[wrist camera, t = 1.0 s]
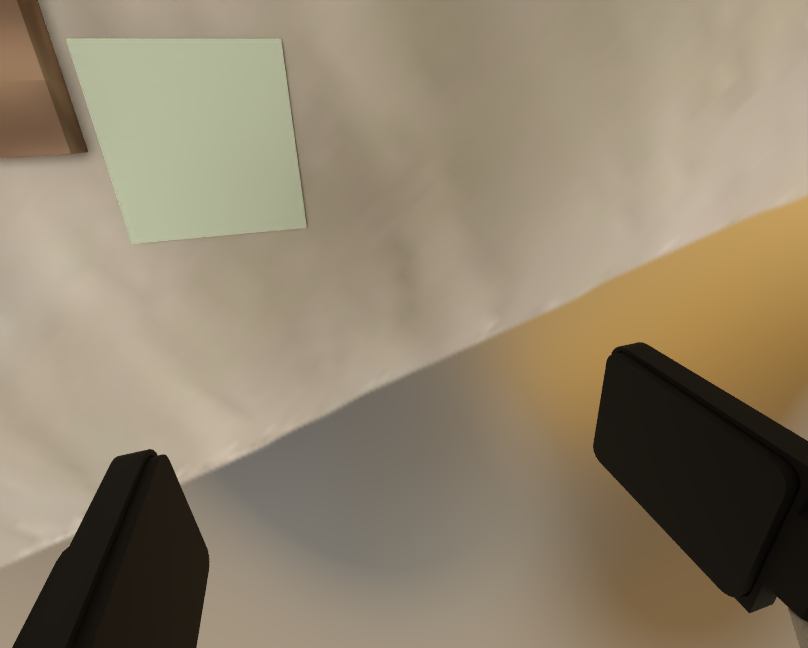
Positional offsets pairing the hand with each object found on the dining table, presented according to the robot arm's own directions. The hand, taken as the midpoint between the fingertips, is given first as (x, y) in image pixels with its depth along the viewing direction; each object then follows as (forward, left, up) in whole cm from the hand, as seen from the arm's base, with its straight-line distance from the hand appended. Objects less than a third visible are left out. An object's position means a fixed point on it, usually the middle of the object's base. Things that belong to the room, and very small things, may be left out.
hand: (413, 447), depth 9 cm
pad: (-5, -7, -27) cm, 28 cm away
